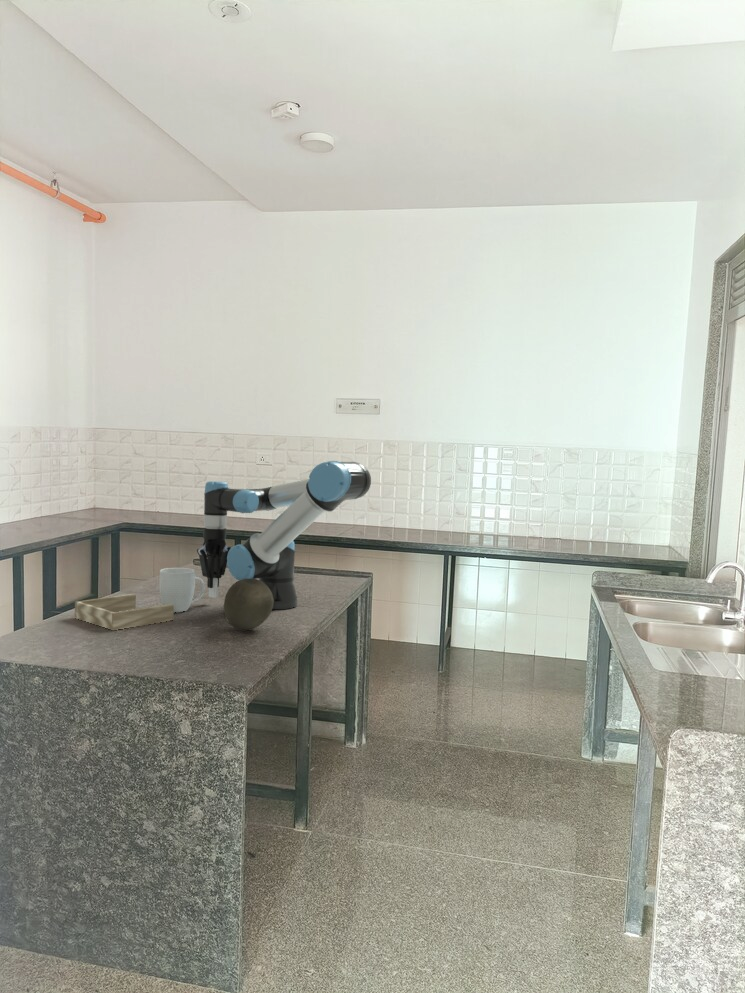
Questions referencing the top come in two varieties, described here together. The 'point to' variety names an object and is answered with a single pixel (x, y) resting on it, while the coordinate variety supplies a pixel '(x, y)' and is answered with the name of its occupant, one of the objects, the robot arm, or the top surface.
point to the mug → (178, 587)
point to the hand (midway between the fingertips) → (212, 597)
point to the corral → (106, 607)
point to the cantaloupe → (248, 604)
